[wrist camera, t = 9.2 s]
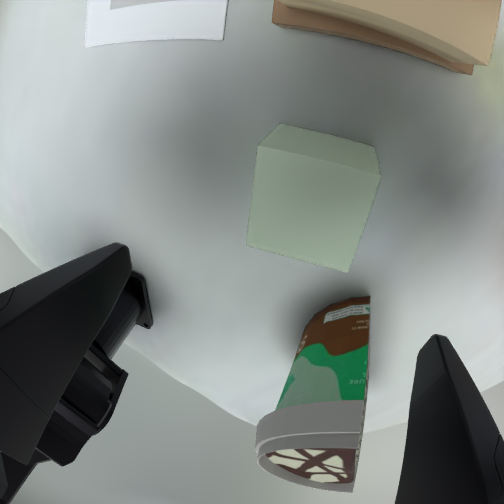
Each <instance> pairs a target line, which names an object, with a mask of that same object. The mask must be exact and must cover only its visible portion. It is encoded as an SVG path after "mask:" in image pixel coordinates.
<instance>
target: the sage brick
mask: <svg viewBox="0 0 504 504" xmlns="http://www.w3.org/2000/svg"><path fill="white" fill-rule="evenodd" d="M381 177H382V176H381V172H380V168H379V164H378V161H377V157H376V153H375V150H374V147H373V146H370V145H367V144H363V143H360V142H356V141H353V140H349V139H345V138H341V137H338V136H334V135H330V134H326V133H322V132H317V131H313V130H309V129H304V128H300V127H295V126H290V125H285V124H279V125H278V126H277V127H276V128H275V129H274V130H273V131H272V132H271V133H270V134H269V135H268V136H267V137H266V138H265V139H264V140H263V141H262V142H261V143H260V144H259V145H258V147H257V155H256V163H255V171H254V180H253V188H252V196H251V205H250V213H249V221H248V230H247V238H246V246H249V247H253V248H257V249H260V250H264V251H268V252H271V253H275V254H279V255H283V256H286V257H290V258H294V259H298V260H301V261H305V262H309V263H312V264H316V265H320V266H324V267H327V268H331V269H335V270H338V271H342V272H346V273H347V272H348V270H349V267H350V265H351V262H352V260H353V257H354V255H355V252H356V249H357V247H358V244H359V241H360V239H361V236H362V233H363V230H364V227H365V225H366V222H367V219H368V216H369V213H370V210H371V207H372V204H373V201H374V198H375V195H376V192H377V189H378V186H379V183H380V180H381Z"/></svg>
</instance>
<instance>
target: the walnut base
mask: <svg viewBox="0 0 504 504" xmlns="http://www.w3.org/2000/svg"><path fill="white" fill-rule="evenodd" d="M272 23H274V24H276V25H278V26H280V27H283V28H292V29H300V30H307V31H314V32H320V33H326V34H331V35H336V36H341V37H346V38H351V39H355V40H360V41H364V42H368V43H372V44H376V45H379V46H383V47H386V48H390V49H393V50H397V51H400V52H403V53H406V54H409V55H412V56H415V57H418V58H421V59H424V60H426V61H429V62H432V63H434V64H437V65H440V66H442V67H445V68H447V69H449V70H452V71H454V72H457V73H462V74H468V75H472V73H473V67H474V64H466V63H453V62H450V61H448V60H446V59H444V58H442V57H440V56H438V55H436V54H434V53H432V52H429V51H427V50H425V49H423V48H421V47H418V46H416V45H414V44H411V43H409V42H406V41H404V40H401V39H399V38H396V37H393V36H391V35H388V34H385V33H382V32H380V31H377V30H374V29H371V28H368V27H365V26H361V25H358V24H355V23H351V22H348V21H344V20H341V19H337V18H333V17H329V16H325V15H320V14H316V13H311V12H307V11H302V10H296V9H291V8H287V7H286V6H285V5H284V4H282V3H281V2H280V1H279V0H274V6H273V15H272Z"/></svg>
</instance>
